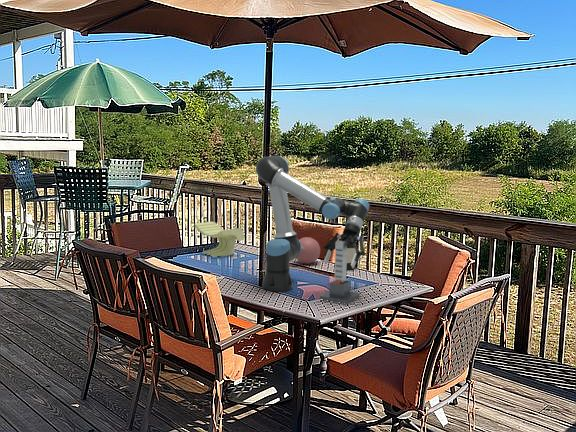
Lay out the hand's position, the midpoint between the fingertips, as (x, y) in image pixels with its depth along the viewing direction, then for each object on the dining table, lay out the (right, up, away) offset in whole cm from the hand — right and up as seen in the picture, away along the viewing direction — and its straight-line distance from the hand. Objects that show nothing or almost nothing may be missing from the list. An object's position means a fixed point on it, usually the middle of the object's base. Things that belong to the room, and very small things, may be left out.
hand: (338, 264), depth 268 cm
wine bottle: (+11, -7, +61) cm, 63 cm away
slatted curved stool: (-66, -1, +94) cm, 115 cm away
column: (+1, -9, +3) cm, 10 cm away
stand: (+1, -16, +5) cm, 17 cm away
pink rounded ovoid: (-14, -6, +71) cm, 72 cm away
